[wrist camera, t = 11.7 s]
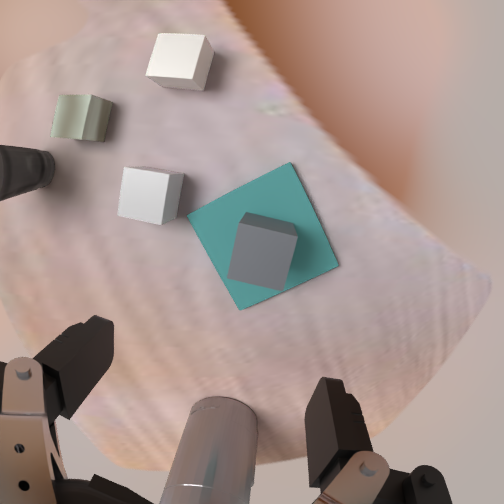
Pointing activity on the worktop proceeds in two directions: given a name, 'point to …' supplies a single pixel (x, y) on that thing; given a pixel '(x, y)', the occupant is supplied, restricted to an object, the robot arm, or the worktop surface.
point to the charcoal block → (262, 251)
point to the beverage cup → (23, 170)
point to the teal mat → (270, 205)
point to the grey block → (150, 194)
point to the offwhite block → (180, 61)
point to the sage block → (81, 117)
